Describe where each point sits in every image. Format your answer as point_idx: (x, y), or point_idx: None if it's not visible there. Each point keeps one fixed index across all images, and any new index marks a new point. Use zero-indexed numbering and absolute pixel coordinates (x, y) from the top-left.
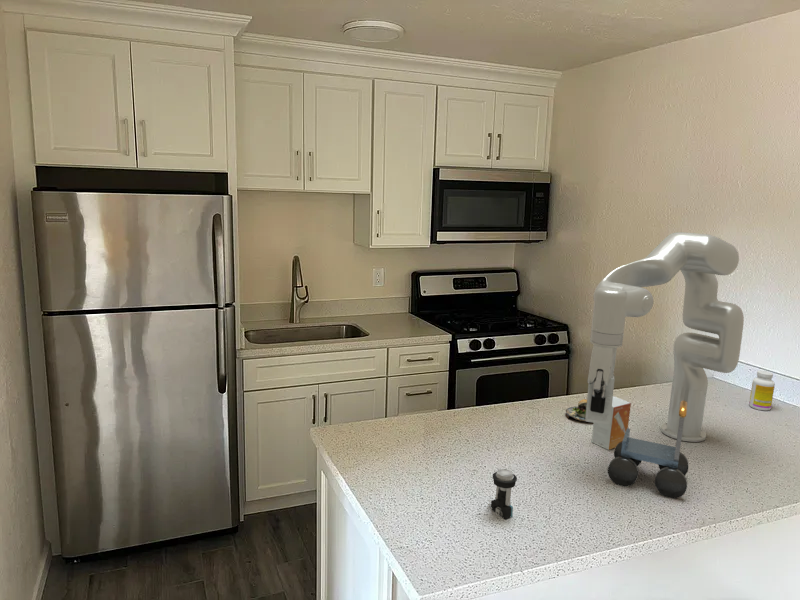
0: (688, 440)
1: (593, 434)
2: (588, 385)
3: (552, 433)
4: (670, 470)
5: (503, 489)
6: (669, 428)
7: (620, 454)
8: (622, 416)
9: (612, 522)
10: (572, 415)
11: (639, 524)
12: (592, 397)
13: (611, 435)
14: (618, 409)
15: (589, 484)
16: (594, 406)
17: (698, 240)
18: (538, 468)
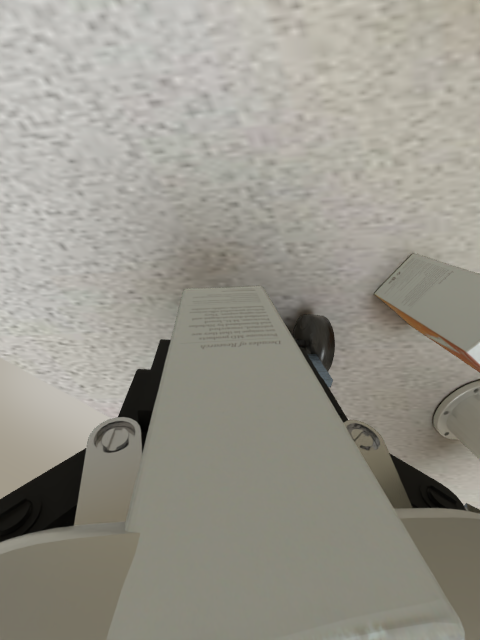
0: (435, 417)
1: (426, 261)
2: (145, 459)
3: (464, 135)
4: None
5: None
6: (477, 398)
7: (306, 329)
8: (455, 353)
9: (34, 316)
10: None
11: (64, 357)
12: (141, 404)
13: (398, 310)
14: (467, 357)
15: (177, 263)
16: (134, 381)
17: None
18: (203, 112)
